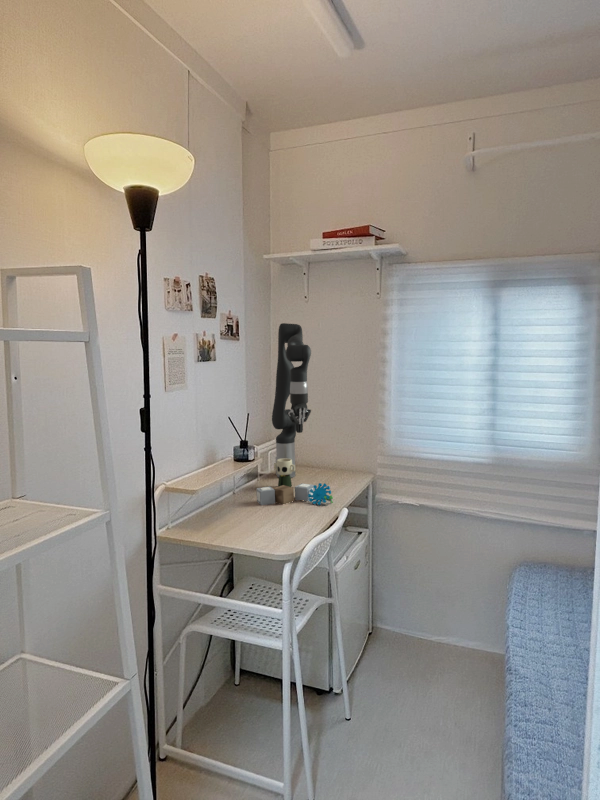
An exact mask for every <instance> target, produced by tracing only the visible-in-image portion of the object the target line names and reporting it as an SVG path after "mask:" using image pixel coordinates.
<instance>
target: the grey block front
mask: <svg viewBox="0 0 600 800" xmlns="http://www.w3.org/2000/svg"><path fill="white" fill-rule="evenodd" d="M273 488H274V487H272V486H264V487H257V488H256V503H258V504H259V505H260V506H268V505H275V504H276V503H275V490H274V489H273ZM274 503H275V504H274Z"/></svg>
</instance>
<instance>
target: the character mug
mask: <svg viewBox="0 0 600 800" xmlns="http://www.w3.org/2000/svg"><path fill="white" fill-rule="evenodd" d="M276 467H277V468H276ZM292 467H293V470H292ZM273 470H275V471H276V470H277V473H278V474H279V475H280V476H279V477H278V482H277V487H279V486H282V485H285V486H289V487H293V486H292V485H293V484H292V478H291V477H290V475H289V474H291V473H292V472H295V473H296V464H295V465H293V464H292V459H287V458H284V459H278V460H277V463H276V462H274V463H273Z"/></svg>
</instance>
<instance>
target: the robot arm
mask: <svg viewBox="0 0 600 800" xmlns="http://www.w3.org/2000/svg"><path fill="white" fill-rule="evenodd" d="M277 332H278V336H277V339H278V341H277V342H278V343H277V344H278V345H277V346H278V347H277V364H276V365H277V366H276V374H275V375H276V376H275V390H274V391H275V392H274V402H273V407H272V413H271V424H272V426H273V428H274V429H275V430H281V432H280V433H279V434H278V435H277V436H276V437H275V454H276V456H275V463H277V460H278V459H284V458H287V459H292V464H293V465H295V466H296V443H295V442H296V441H295V439H296V436H297V433H298V434H300V433H302V434H303V431H304V423H305V422H307V420H308V419H309V416H310V415H311V413H312V409H309V408H308V405H307V404H308V402H309V394H308V393H309V386H308V367H309V363H310V359H311V357H312V350H311V349H312V348H311V347H310V346H309V345H308V344H304V342H303V340H304V339H303V336H304V335H303V328H302V326H301V325H300V324H298V323H287V322H284V323H283V322H282V323H280V324H279V327H278V331H277ZM286 345H287V346H286ZM295 362H299V363H301V364H300V365H298V366H294V363H295ZM289 398H290V401H289V402H290V404H291V407H290V409H288V408H286V407H287V406H286V404H287V401H288V399H289ZM276 468H277V467H276ZM292 470H293V467H292ZM275 475H277V476H276V477H277V478H279V476H280V475H279V474H278V473H277V470H275ZM289 475H290V477H291V479H293V478H295V477H296V471H295V472H292V473H291V474H289Z"/></svg>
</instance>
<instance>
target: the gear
mask: <svg viewBox="0 0 600 800" xmlns="http://www.w3.org/2000/svg"><path fill="white" fill-rule="evenodd" d="M313 485H314V486H313V487H314V492H313V490H312V489H310V492H311V493H313V495H311V494H309V495H308V497H309V498H310V497H314V498H313V499H312V498H310V499H309V501H308V502H310V503H312V504H313V505H314V504H315V505H318V506H321V505H322V503H323V504H325V503H327V501H328V502H330V503H331V504H333V498H334V496H333V495H331V494H332V490H331V486H330V485H328V484H326V483H325V482H324V483H323V484H322V483H320V482H318V486H317V484H316V485H315V484H313ZM328 494H329V495H328Z"/></svg>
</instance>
